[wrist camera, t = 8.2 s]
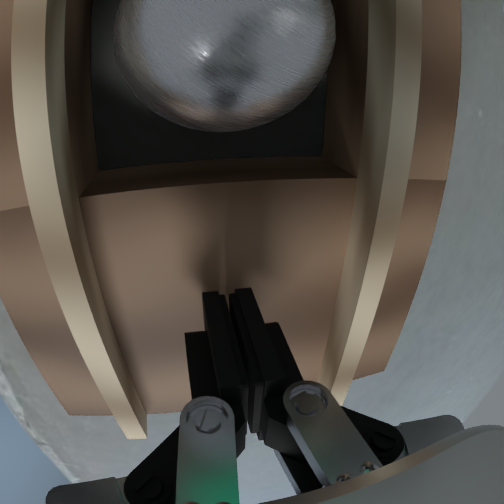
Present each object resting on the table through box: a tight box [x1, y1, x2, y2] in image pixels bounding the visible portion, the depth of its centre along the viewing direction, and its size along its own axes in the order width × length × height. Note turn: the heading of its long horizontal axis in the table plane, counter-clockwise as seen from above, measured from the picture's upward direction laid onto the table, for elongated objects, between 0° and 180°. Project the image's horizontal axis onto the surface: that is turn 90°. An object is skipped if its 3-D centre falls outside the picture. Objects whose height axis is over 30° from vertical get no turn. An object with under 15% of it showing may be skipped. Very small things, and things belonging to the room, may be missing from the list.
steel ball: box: [113, 0, 336, 132], centre depth 7 cm, size 6×6×6 cm
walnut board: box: [0, 0, 462, 439], centre depth 10 cm, size 22×18×4 cm
